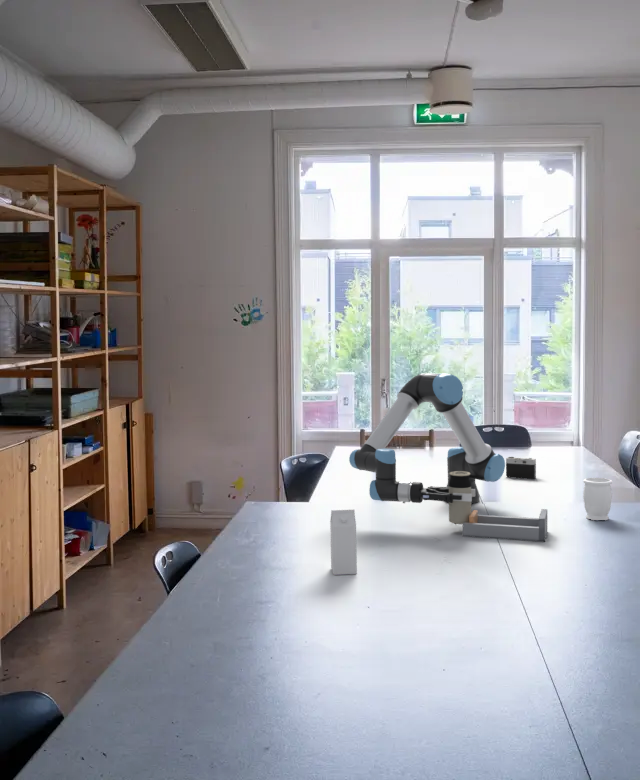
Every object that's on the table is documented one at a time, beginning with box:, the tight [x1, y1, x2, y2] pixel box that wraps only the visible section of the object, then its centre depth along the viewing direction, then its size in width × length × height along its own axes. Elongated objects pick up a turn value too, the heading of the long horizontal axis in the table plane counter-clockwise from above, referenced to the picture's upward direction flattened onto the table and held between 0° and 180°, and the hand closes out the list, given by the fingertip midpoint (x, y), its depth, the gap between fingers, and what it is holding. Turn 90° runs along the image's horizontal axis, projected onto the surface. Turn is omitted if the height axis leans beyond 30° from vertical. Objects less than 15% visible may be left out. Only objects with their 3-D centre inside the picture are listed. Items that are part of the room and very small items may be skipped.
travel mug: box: [448, 471, 472, 525], centre depth 284 cm, size 8×8×18 cm
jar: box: [582, 477, 613, 521], centre depth 299 cm, size 11×10×15 cm
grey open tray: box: [462, 508, 548, 543], centre depth 279 cm, size 15×28×8 cm, turn 71°
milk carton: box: [329, 509, 358, 576], centre depth 238 cm, size 7×7×19 cm
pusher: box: [469, 509, 479, 523], centre depth 283 cm, size 10×2×6 cm, turn 161°
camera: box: [505, 456, 537, 480], centre depth 388 cm, size 14×8×10 cm, turn 60°
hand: (473, 495), depth 282 cm, fingers closed on travel mug, 8 cm apart
